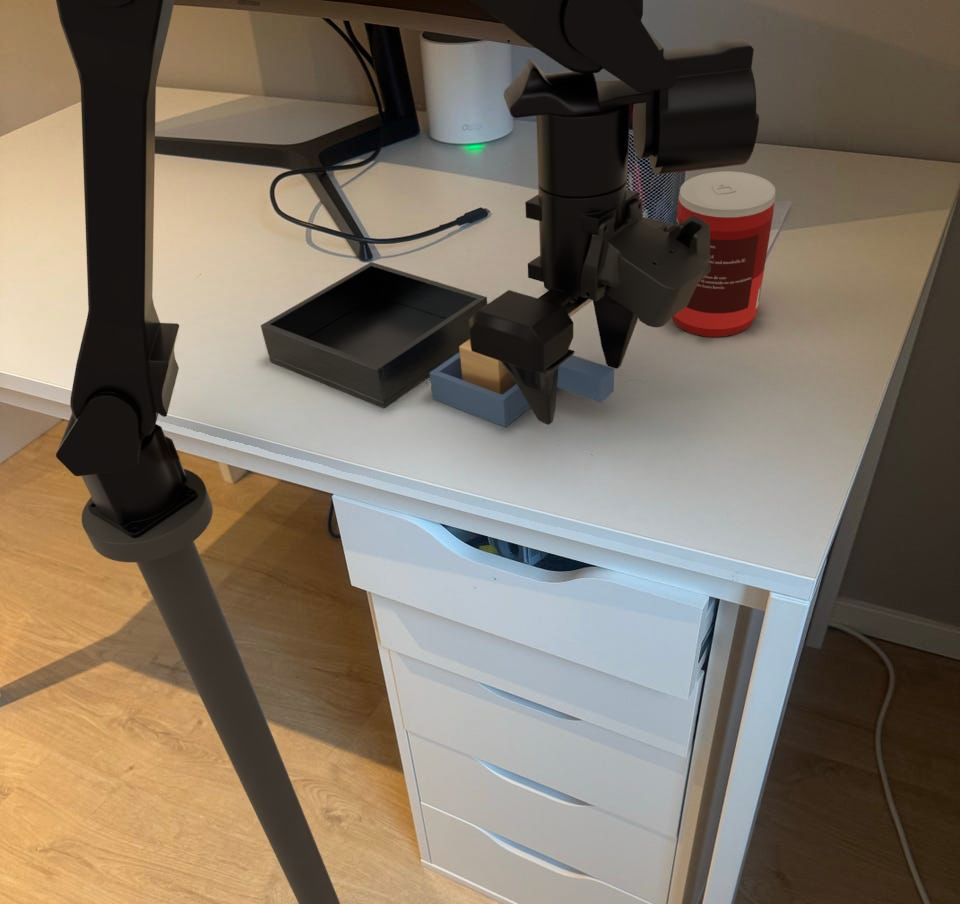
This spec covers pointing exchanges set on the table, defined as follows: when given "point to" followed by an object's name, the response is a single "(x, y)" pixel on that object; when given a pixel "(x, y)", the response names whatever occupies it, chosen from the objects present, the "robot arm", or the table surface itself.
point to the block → (484, 370)
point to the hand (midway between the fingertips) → (580, 393)
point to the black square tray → (373, 332)
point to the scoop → (516, 389)
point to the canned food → (728, 249)
